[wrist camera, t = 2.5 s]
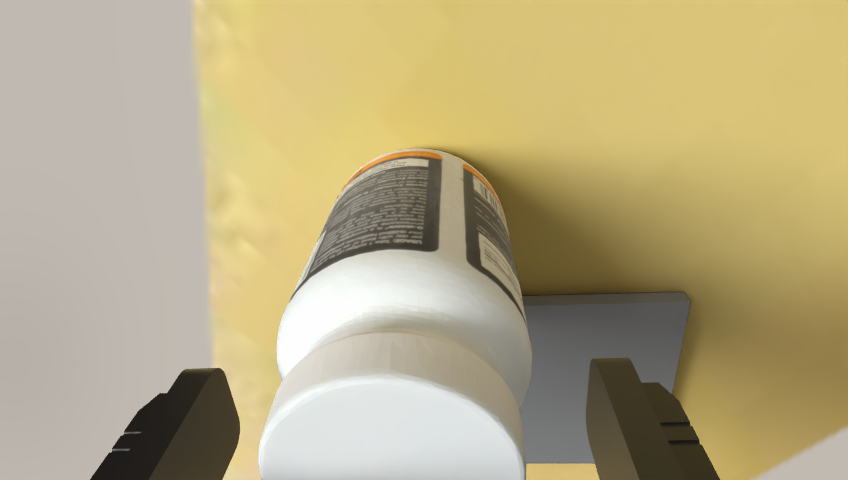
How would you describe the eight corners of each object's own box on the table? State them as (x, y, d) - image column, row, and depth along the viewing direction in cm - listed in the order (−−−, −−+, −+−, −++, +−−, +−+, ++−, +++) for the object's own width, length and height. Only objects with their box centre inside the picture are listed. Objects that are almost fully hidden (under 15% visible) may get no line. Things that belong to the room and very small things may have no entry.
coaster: (454, 297, 19) (454, 307, 19) (684, 291, 19) (691, 301, 18) (461, 451, 23) (461, 463, 22) (653, 451, 22) (657, 463, 22)
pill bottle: (326, 276, 19) (216, 549, 10) (350, 122, 16) (228, 316, 8) (480, 308, 19) (500, 600, 11) (529, 163, 17) (609, 395, 8)
